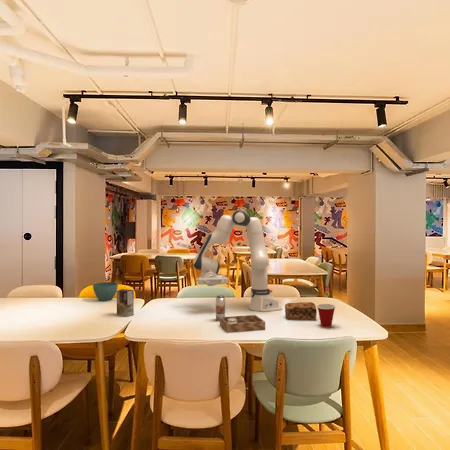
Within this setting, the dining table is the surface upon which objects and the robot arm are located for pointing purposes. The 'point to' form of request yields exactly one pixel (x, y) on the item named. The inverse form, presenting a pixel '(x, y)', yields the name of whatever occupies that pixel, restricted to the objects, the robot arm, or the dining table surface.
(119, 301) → the coffee box
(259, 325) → the crate
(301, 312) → the bread
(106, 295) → the teal bowl
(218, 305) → the canister
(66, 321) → the dining table surface
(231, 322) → the jar
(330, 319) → the plastic cup
